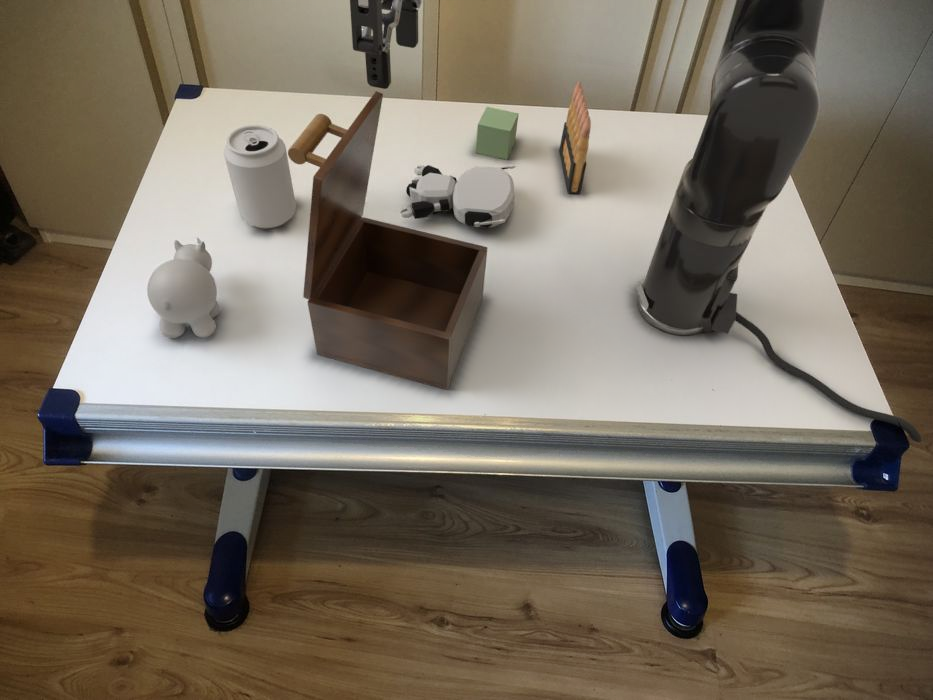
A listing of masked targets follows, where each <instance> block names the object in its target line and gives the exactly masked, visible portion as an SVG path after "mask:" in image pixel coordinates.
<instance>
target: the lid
mask: <svg viewBox="0 0 933 700" xmlns="http://www.w3.org/2000/svg"><path fill="white" fill-rule="evenodd" d="M383 97H384V93H382V92H381V91H377V90H376V91H374V92H373V94H372V96H371V97H370V98H369V100H368V101H367V103H366V104H365V105H364V107H363V108H362V110H361V111H360V112H359V113H358V115H357V116H356V117H355V119H354V120H353V122H352V123H351V125H349V127H348V128H344V127H342V126H339V125H337V124H334V123H333V122H332V119H330V117H329V116H328V115H326V114H325V113H318V114H316V115H315V116H314V117H313V118H312V120H311V121H310V122H309V123H308V125H306V127H305V128H304V130H303V131H302V132H301V133H300V135H299V136H298V137H297V138H296V140H295V141H294V142H293V143H292V144H291V146H290V147H289V148H288V150H287V157H288V159H289V160H290V161H291V162H292V163H294V164H296V165H304V164H305V163H308V164H311V165H313V166H316V167H318V170H317V171H316V172H315V174H313V177H312V186H311V187H312V188H311V200H310V210H309V211H310V213H309V223H308V235H307V248H306V260H305V271H304V284H303V295H302V298H303V299H306V300H307V301H308V300H310V299H311V298H312V296H313V295H314V293H315V291H316V290H317V288H318V286H319V285H320V283H321V282H322V280H323V278H324V277H325V275H326V274H327V272H328V270H329V269H330V267H331V265H332V264H333V262H334V261H335V259H336V257H337V256H338V254H339V252H340V251H341V249H342V248H343V246H344V244H345V243H346V241H347V239H348V238H349V236H350V235H351V233H352V231H353V230H354V228H355V227H356V225H357V223H358V222H359V220H360V218H361V217H363V215H364V211H365V205H366V198H367V192H368V187H369V181H370V177H371V176H370V174H371V169H372V165H373V164H372V163H373V157H374V152H375V146H376V140H377V133H378V127H379V121H380V116H381V109H382V103H383ZM327 134H330V135H334V136H336V137H338V138H340V139H339V140H338V142H337V144H336V145H335V146H334V147H333V149H332V151H331V152H330V153H329V155H328V156H327V157H326V158H325V157H322V156H320V155H318V154H315V153H314V151H315V150H316V149H317V148H318V146H319V145H320V144H321V142H322V141H323V140H324V138H325V137H326V136H327Z"/></svg>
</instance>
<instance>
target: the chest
mask: <svg viewBox="0 0 933 700" xmlns="http://www.w3.org/2000/svg"><path fill="white" fill-rule="evenodd" d="M487 258H488V246H484V245H480V244H476V243H473V242H468V241H464V240H460V239H455V238H452V237H447V236H443V235H438V234H435V233H431V232H426V231H422V230H419V229H415V228H409V227H405V226H401V225H397V224H393V223H389V222H385V221H380V220H377V219H372V218H368V217H364V216H362V217H361V218H360V220H359V222H358V223H357V225H356V227H355V228H354V230H353V231H352V233H351V235H350V236H349V238H348V239H347V241H346V243H345V244H344V246H343V248H342V249H341V251H340V252H339V254H338V256H337V257H336V259H335V261H334V262H333V264H332V265H331V267H330V269H329V270H328V272H327V274H326V275H325V277H324V278H323V280H322V282H321V283H320V285H319V286H318V288H317V290H316V291H315V293H314V295H313V296H312V298H311V299H310V300H308V299H307V308H308V315H309V318H310V324H311V328H312V334H313V341H314V347H315V351H316V355H318V356H321V357H325V358H329V359H333V360H337V361H339V362H343V363H347V364H351V365H354V366H358V367H362V368H365V369H369V370H373V371H377V372H380V373H384V374H387V375H391V376H394V377H399V378H402V379H405V380H409V381H412V382H417V383H421V384H423V385H428V386H431V387H435V388H438V389H442V390H448V389H449V386H450V384H451V380H452V378H453V376H454V373H455V371H456V368H457V365H458V363H459V360H460V359H461V355H462V353H463V350H464V348H465V346H466V342H467V340H468V338H469V334H470V332H471V330H472V327H473V324H474V322H475V319H476V317H477V314H478V312H479V309H480V307H481V304H482V302H483V297H484V286H485V276H486V267H487Z"/></svg>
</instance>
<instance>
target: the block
mask: <svg viewBox="0 0 933 700" xmlns="http://www.w3.org/2000/svg"><path fill="white" fill-rule="evenodd" d="M519 114H520V113H518V112H514V111H509V110H505V109H500V108H494V107H490V106H486V107H485V109H484V112H483V113H482V115H481V116H480V118H479V121H478V123H477V128H476V145H475V153H476V154H479V155H484V156H488V157H493V158H498V159H502V160H506V161H507V160H508V159H509V157H510V155H511V153H512V150H513V148H514V145H515V144H516V139H517V131H518V123H519Z"/></svg>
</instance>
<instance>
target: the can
mask: <svg viewBox="0 0 933 700" xmlns="http://www.w3.org/2000/svg"><path fill="white" fill-rule="evenodd" d="M223 156H224V160H225V164H226V167H227V168H226V169H227V171H228V176H229V179H230V183H231V187H232V191H233V195H234V199H235V203H236V206H237V209H238V214H239V216H240V218H241V220H243V221H244V222H245V223H246V224H247V225H250V226H251V227H255V228H259V229H274V228H277V227H278V228H279V227H280V226H282V225H284V224H286V223H287V222H288V221H289V220H290V219H291V218H293V216H294V215H295V213H296V211H297V203H296V198H295V197H296V196H295V192H294V186H293V180H292V175H291V170H290V163H289V156H288V151H287V146H286V144H285V142H284V140H283V139H282V138H281V137H280V136H279V134H278V132H277V131H276V130H275V129H273V128H272V127H269V126H267V125H263V124H248V125H243V126H240V127H238V128H235V129H234V130H233V131H231V132H230V133H229V134H228V136H227V137H226V144H225V146H224V148H223Z"/></svg>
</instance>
